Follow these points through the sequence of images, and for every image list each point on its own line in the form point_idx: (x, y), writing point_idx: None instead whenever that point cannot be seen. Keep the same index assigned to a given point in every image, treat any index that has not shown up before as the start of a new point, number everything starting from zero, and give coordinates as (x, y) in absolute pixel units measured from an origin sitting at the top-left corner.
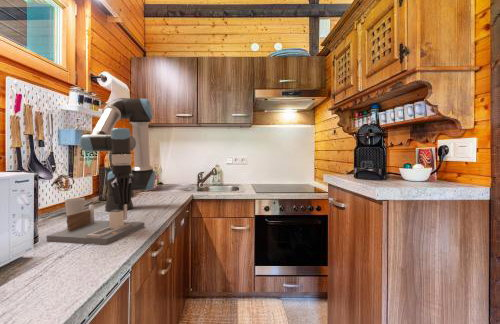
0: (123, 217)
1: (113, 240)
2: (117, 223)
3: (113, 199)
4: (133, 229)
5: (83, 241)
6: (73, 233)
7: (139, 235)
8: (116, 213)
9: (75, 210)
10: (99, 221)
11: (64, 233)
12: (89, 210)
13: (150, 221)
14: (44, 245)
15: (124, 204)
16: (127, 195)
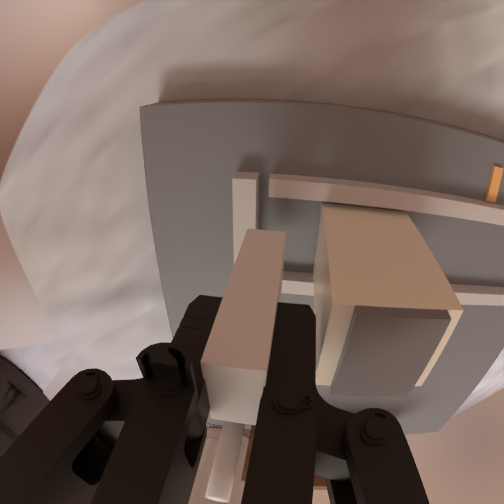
0: (329, 246)
1: None
2: (419, 235)
3: (21, 424)
4: (318, 105)
5: None
6: (437, 388)
7: (404, 12)
8: (456, 308)
9: (233, 494)
10: None
11: (425, 411)
12: (245, 478)
13: (40, 161)
14: (485, 390)
15: (224, 385)
16: (111, 501)
